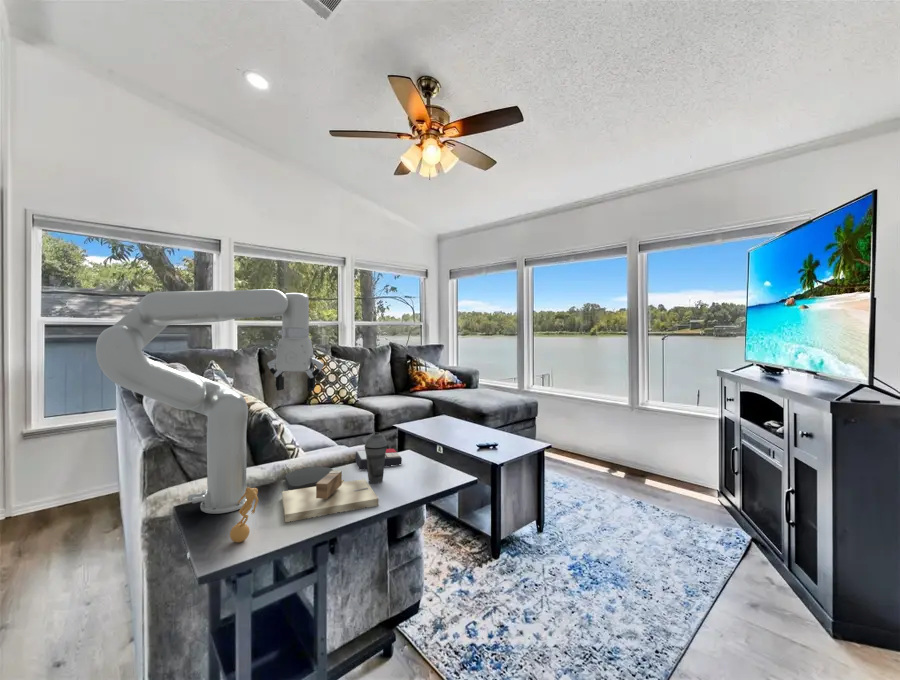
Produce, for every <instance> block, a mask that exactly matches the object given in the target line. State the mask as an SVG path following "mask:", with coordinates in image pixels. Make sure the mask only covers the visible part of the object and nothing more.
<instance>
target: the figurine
mask: <svg viewBox="0 0 900 680" xmlns="http://www.w3.org/2000/svg"><path fill="white" fill-rule="evenodd" d="M258 492H259V489H258V488H256V487H249V486H246V491H245V494H244V495H243V496H242V497H241V499H240V500H239V502H238V503H240V501H241V500H242V499H243V498H244V497H245V496H246V502H245V503H244V505H243V506H242V508H241V509H238V510H239V511H238V514H239V515H241V516H242V518H241V519H240V521H238V522H237V523H236V524H234V526H232V528H231V529H230V531H229V538H230V539H231V541H233V542H234V543H242V542H244V541H245V540H247V539H248V537H249V535H250V527H249V525H248V524H246V523H247V521H248V520H249V515H248V513H249V511H250V512H251V515H254V514H255V512H256V508H257V505H258V502H259V497H258ZM254 500H255V503H254V506H252V504H253V502H254ZM252 508H253V509H252ZM251 509H252V510H251Z"/></svg>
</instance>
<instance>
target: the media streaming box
mask: <svg viewBox="0 0 900 680" xmlns="http://www.w3.org/2000/svg"><path fill="white" fill-rule="evenodd" d="M332 470H334V469H333V468H331V467H327V466H312V467H311V466H310V467H304V468H299V469H295V470H292V471H290V472H287V473H286V474H285V475H284V483H285V486H286V487H287V489H288V491H289V490H296V489H302V488H309V487H315V486H316V483H317V482H319V481H320V480H321V479H322V478H324V477H325V476H326V475H327V474H329V472H331V471H332Z"/></svg>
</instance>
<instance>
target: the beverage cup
mask: <svg viewBox="0 0 900 680" xmlns="http://www.w3.org/2000/svg"><path fill="white" fill-rule="evenodd" d="M371 428H372V433H371V434H369V435H368V436H367V438H366V439H365V442H364V446H363V447H364V451H365V452H366V458H367V469H366V471H367V478H368V484H370V485H371V484H372V485H378V484H381V483H383V481H384V473H385V472H384V470H385V467H384V463H385V452H386V449H388V448H387V447H388V441H387V439H386V437H385V436H384V435H383V434H382V433H380V432H376V431H375V426H374V419H371Z"/></svg>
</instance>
